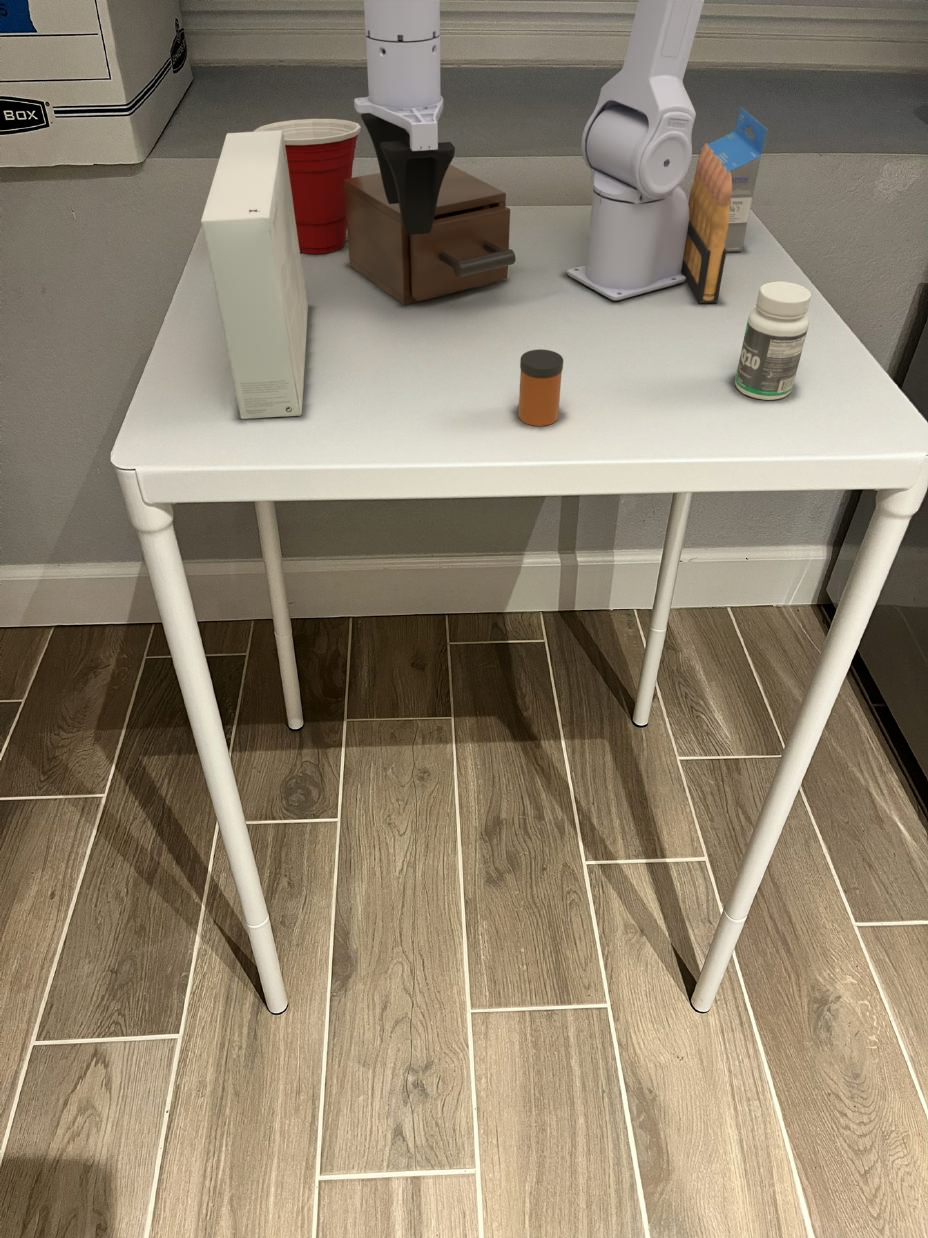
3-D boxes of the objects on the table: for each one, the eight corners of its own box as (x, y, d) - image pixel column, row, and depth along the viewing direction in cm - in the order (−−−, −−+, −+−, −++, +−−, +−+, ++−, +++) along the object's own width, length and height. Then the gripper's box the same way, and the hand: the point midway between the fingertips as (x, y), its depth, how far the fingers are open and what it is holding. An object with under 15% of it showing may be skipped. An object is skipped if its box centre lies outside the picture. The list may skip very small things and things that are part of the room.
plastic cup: (349, 220, 110) (341, 105, 103) (381, 253, 103) (375, 132, 95) (256, 234, 107) (240, 116, 99) (283, 268, 100) (268, 144, 92)
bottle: (542, 402, 79) (546, 345, 76) (566, 419, 77) (572, 361, 74) (509, 412, 78) (512, 355, 75) (533, 430, 76) (536, 372, 73)
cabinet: (503, 280, 98) (506, 192, 92) (403, 305, 93) (400, 213, 88) (444, 244, 105) (443, 160, 100) (349, 265, 101) (343, 178, 95)
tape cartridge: (686, 224, 110) (704, 105, 102) (719, 223, 111) (740, 105, 103) (709, 253, 104) (731, 129, 96) (744, 252, 104) (769, 128, 96)
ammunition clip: (717, 303, 94) (742, 174, 86) (698, 304, 94) (721, 174, 86) (693, 261, 102) (713, 139, 94) (676, 262, 102) (694, 139, 94)
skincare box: (251, 309, 92) (225, 129, 82) (308, 307, 93) (290, 128, 82) (233, 421, 77) (198, 216, 66) (301, 418, 77) (278, 214, 66)
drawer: (532, 293, 93) (536, 222, 89) (440, 317, 89) (440, 243, 85) (452, 245, 103) (453, 178, 98) (366, 264, 99) (362, 195, 94)
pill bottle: (729, 373, 83) (749, 278, 78) (784, 375, 83) (808, 279, 78) (739, 401, 80) (761, 302, 74) (797, 402, 80) (823, 303, 74)
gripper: (336, 18, 78) (348, 192, 87) (367, 58, 68) (378, 251, 77) (421, 14, 79) (424, 186, 88) (465, 53, 69) (463, 244, 78)
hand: (408, 216), depth 83 cm, fingers open, 7 cm apart
